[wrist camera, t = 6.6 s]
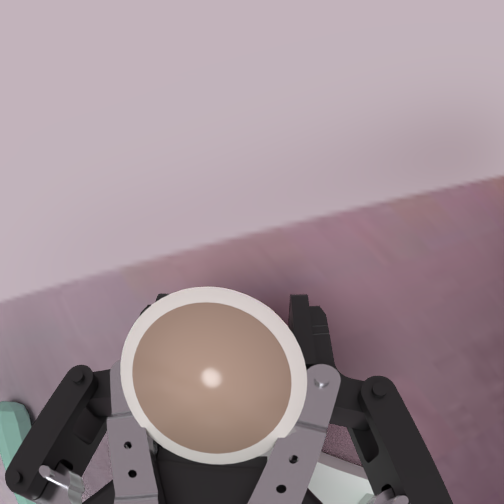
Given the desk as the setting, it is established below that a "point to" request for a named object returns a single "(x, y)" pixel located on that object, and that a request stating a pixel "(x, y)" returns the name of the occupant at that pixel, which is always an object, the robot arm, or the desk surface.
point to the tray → (338, 481)
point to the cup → (213, 375)
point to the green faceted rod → (13, 434)
